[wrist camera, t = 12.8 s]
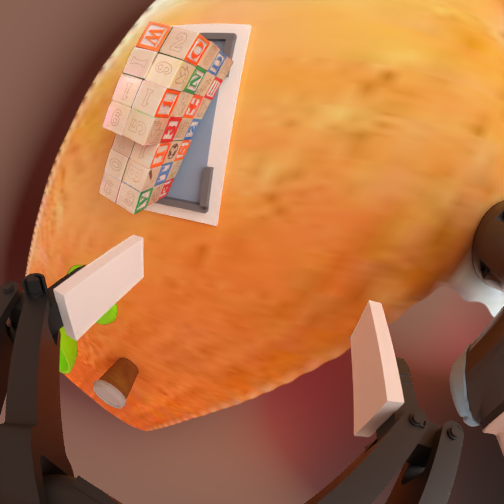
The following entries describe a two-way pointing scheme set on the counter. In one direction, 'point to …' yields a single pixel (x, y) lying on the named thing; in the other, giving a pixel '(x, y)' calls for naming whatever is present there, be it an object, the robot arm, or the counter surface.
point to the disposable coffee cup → (116, 383)
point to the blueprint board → (209, 136)
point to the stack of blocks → (158, 112)
